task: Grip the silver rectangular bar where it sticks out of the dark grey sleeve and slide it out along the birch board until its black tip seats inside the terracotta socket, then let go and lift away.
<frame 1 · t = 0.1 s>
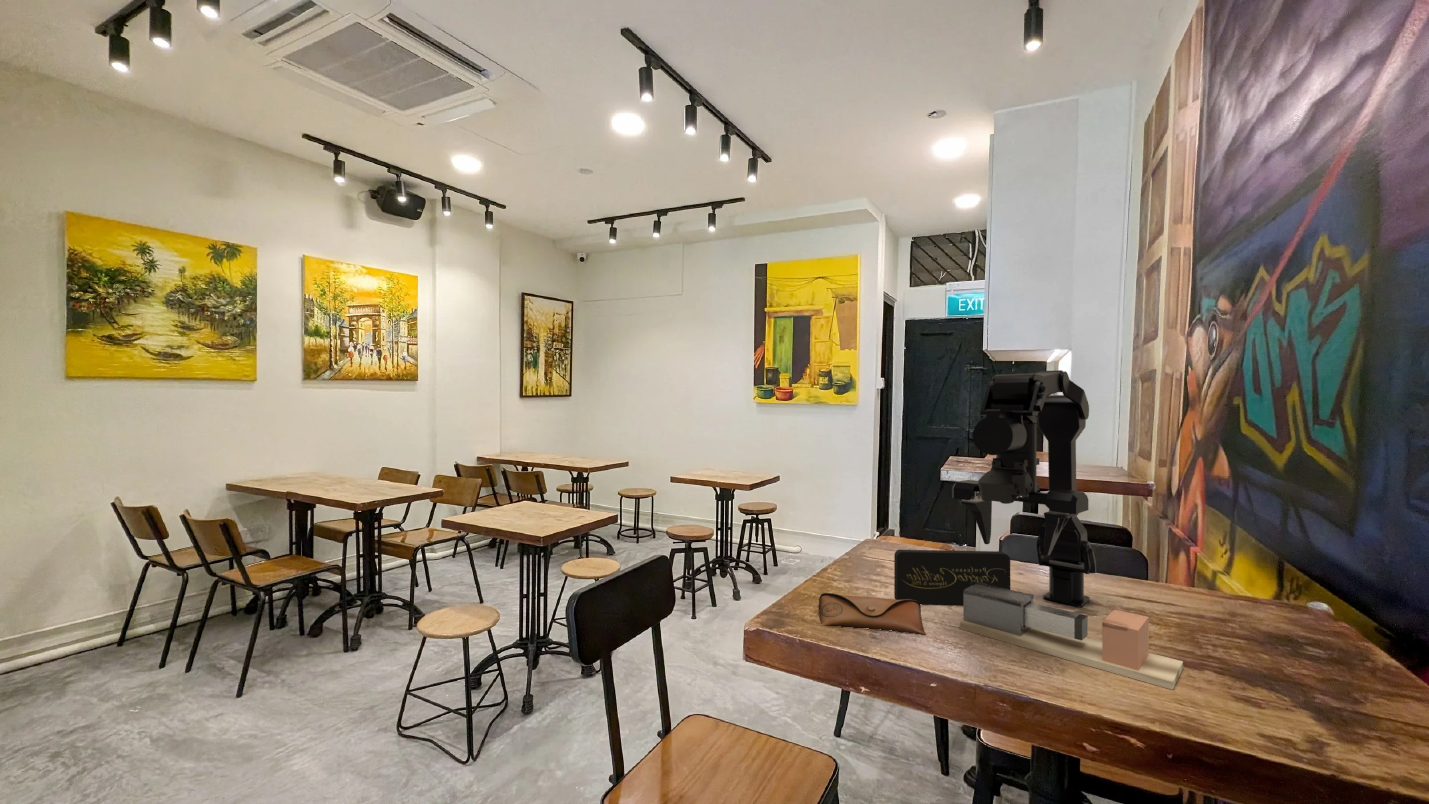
hand: (1016, 549, 90), 15 cm above the table, tool pointing down, fingers open, 9 cm apart
sunglasses case: (870, 625, 98), on the table
base board: (1062, 647, 88), on the table
grey sleeve: (998, 607, 94), on the base board, point 4 cm above the table
silver rectangular bar: (1023, 613, 92), point 4 cm above the table, slide at 0.0 cm
terracotta socket: (1125, 638, 82), on the base board, point 4 cm above the table
nameplate: (951, 605, 107), on the table
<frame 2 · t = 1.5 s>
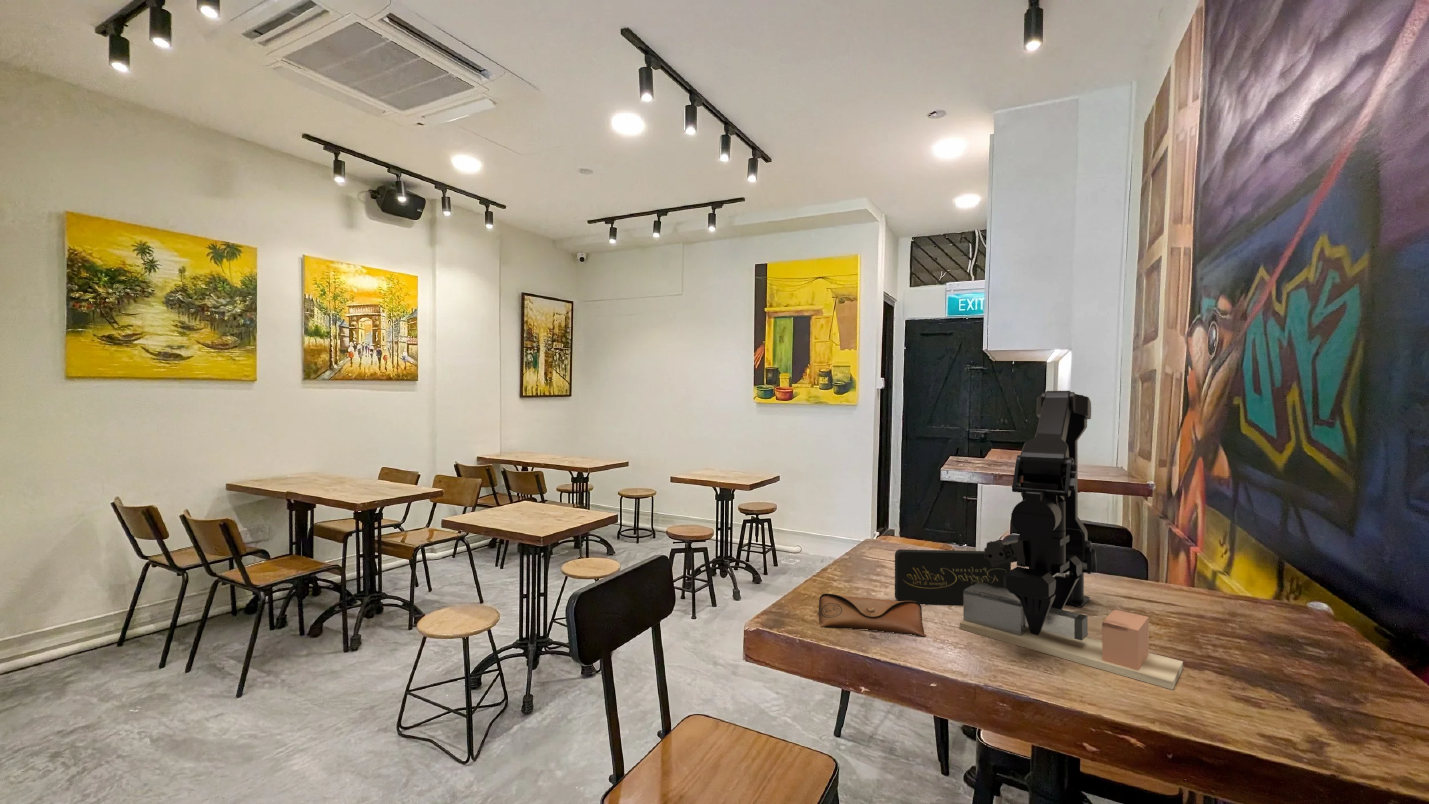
hand: (1044, 626, 89), 2 cm above the table, tool pointing down, fingers open, 9 cm apart
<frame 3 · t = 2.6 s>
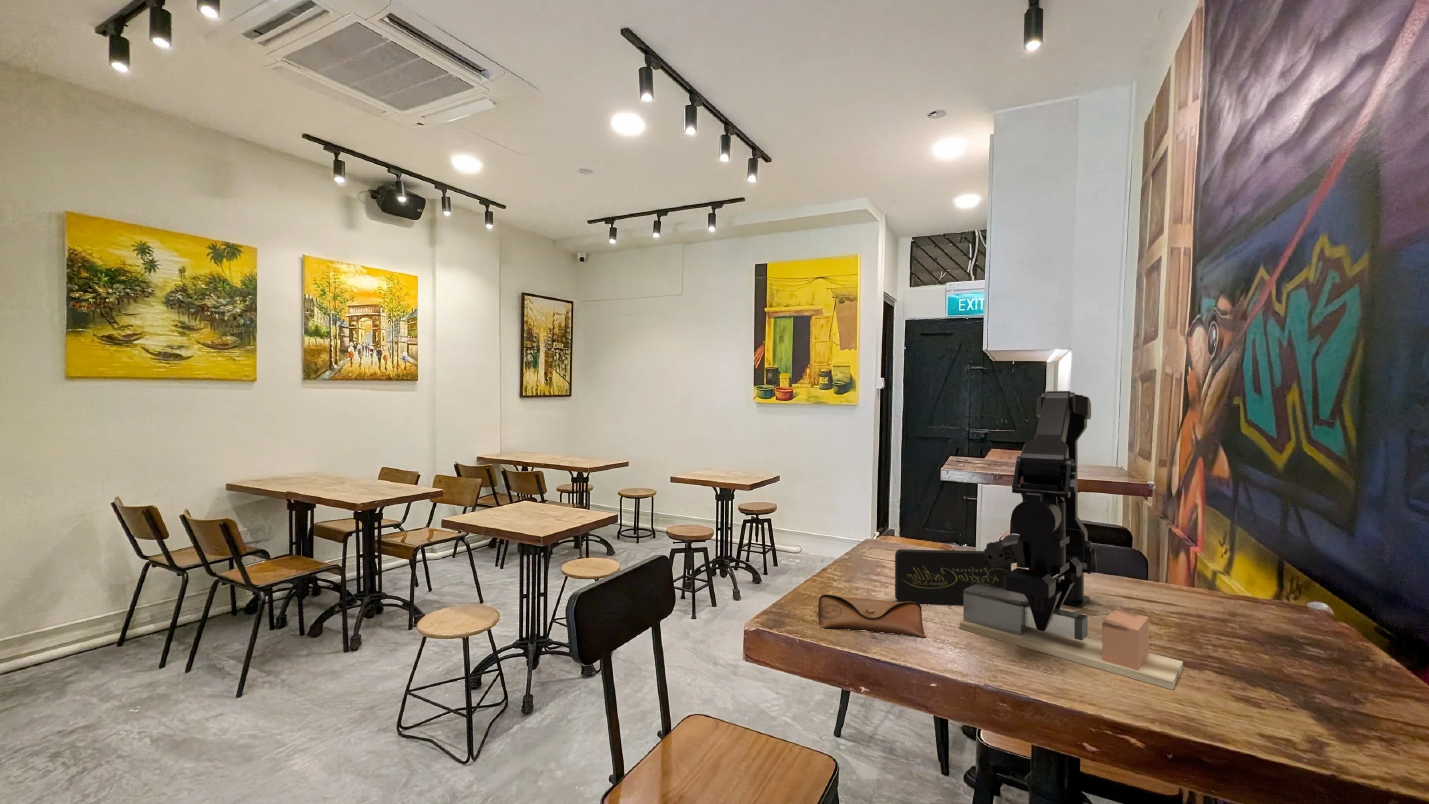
hand: (1044, 627, 89), 2 cm above the table, tool pointing down, fingers closed on silver rectangular bar, 3 cm apart
silver rectangular bar: (1023, 613, 92), point 4 cm above the table, slide at 0.0 cm, touching gripper
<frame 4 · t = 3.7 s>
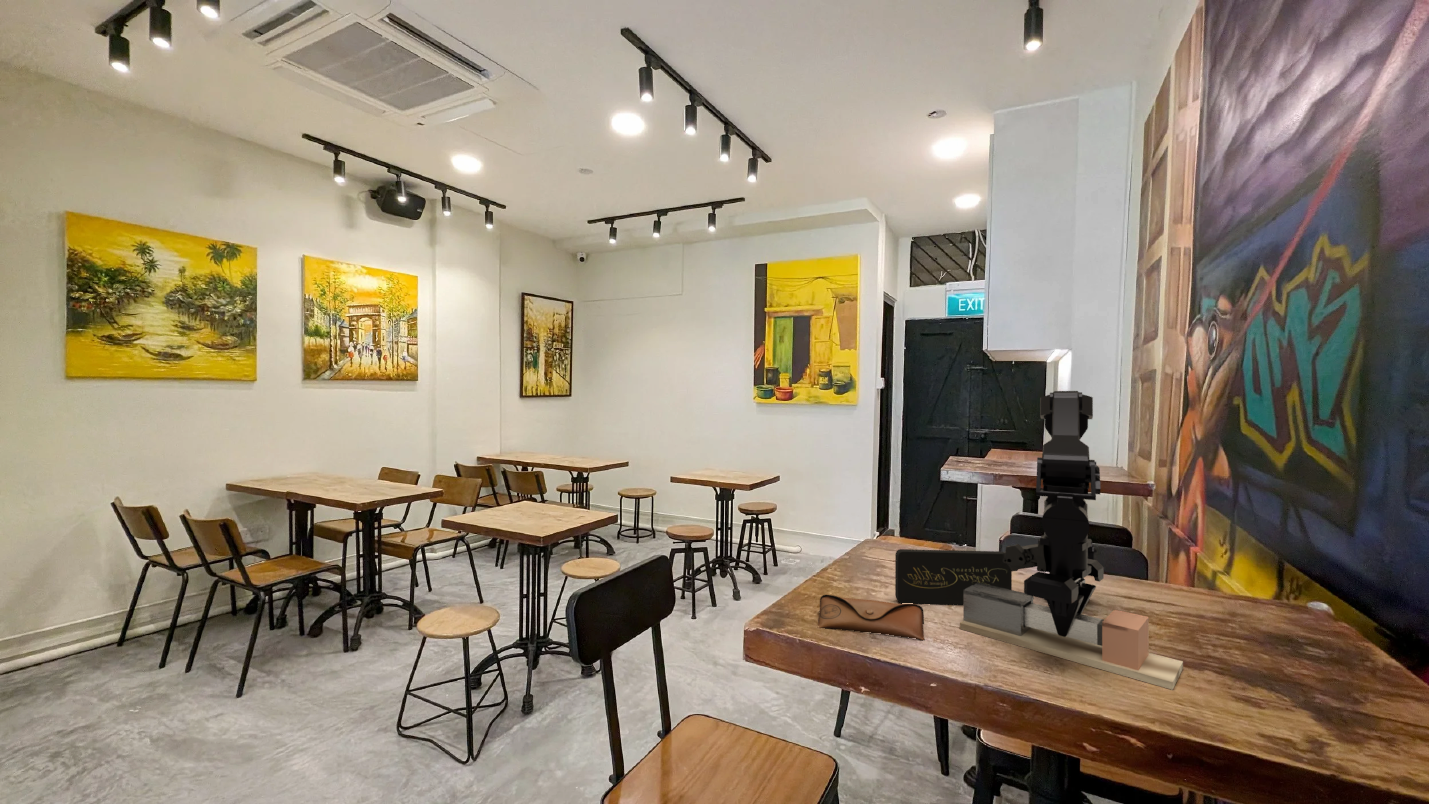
hand: (1065, 632, 87), 2 cm above the table, tool pointing down, fingers closed on silver rectangular bar, 3 cm apart
silver rectangular bar: (1043, 618, 89), point 4 cm above the table, slide at 2.9 cm, touching gripper
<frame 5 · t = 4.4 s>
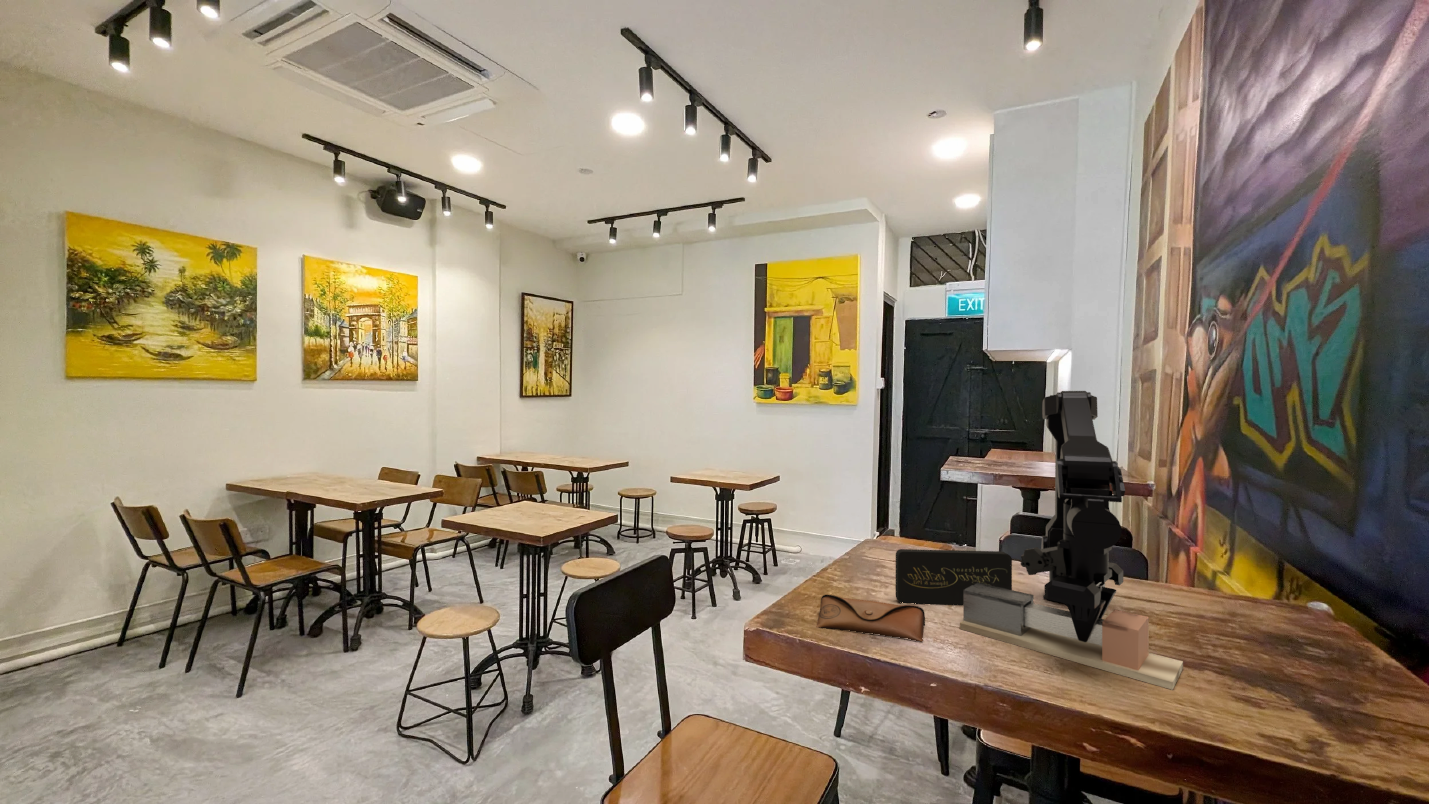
hand: (1085, 638, 85), 2 cm above the table, tool pointing down, fingers closed on silver rectangular bar, 3 cm apart
silver rectangular bar: (1063, 622, 88), point 4 cm above the table, slide at 5.6 cm, touching gripper
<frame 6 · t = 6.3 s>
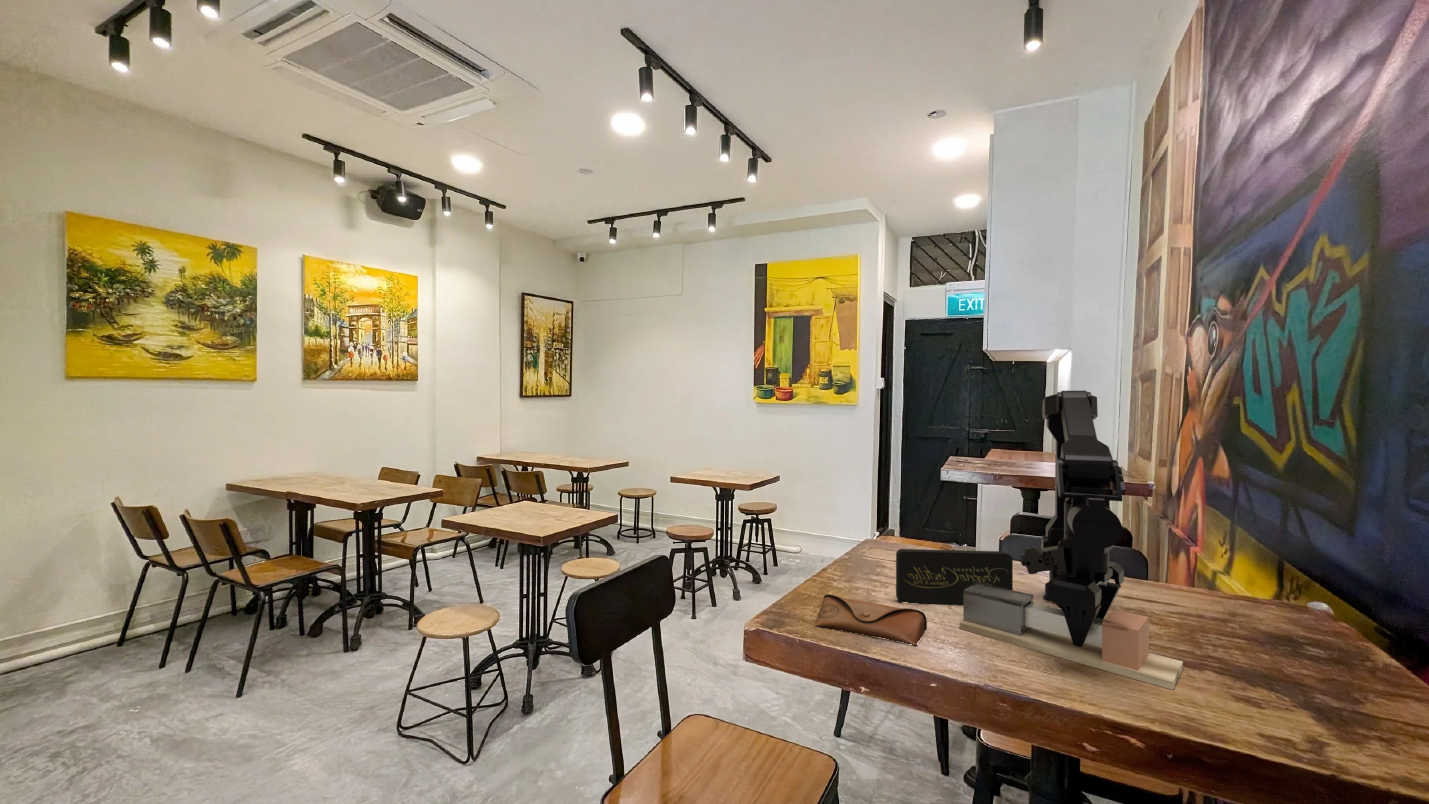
hand: (1086, 637, 85), 2 cm above the table, tool pointing down, fingers open, 9 cm apart
silver rectangular bar: (1063, 622, 87), point 4 cm above the table, slide at 5.7 cm
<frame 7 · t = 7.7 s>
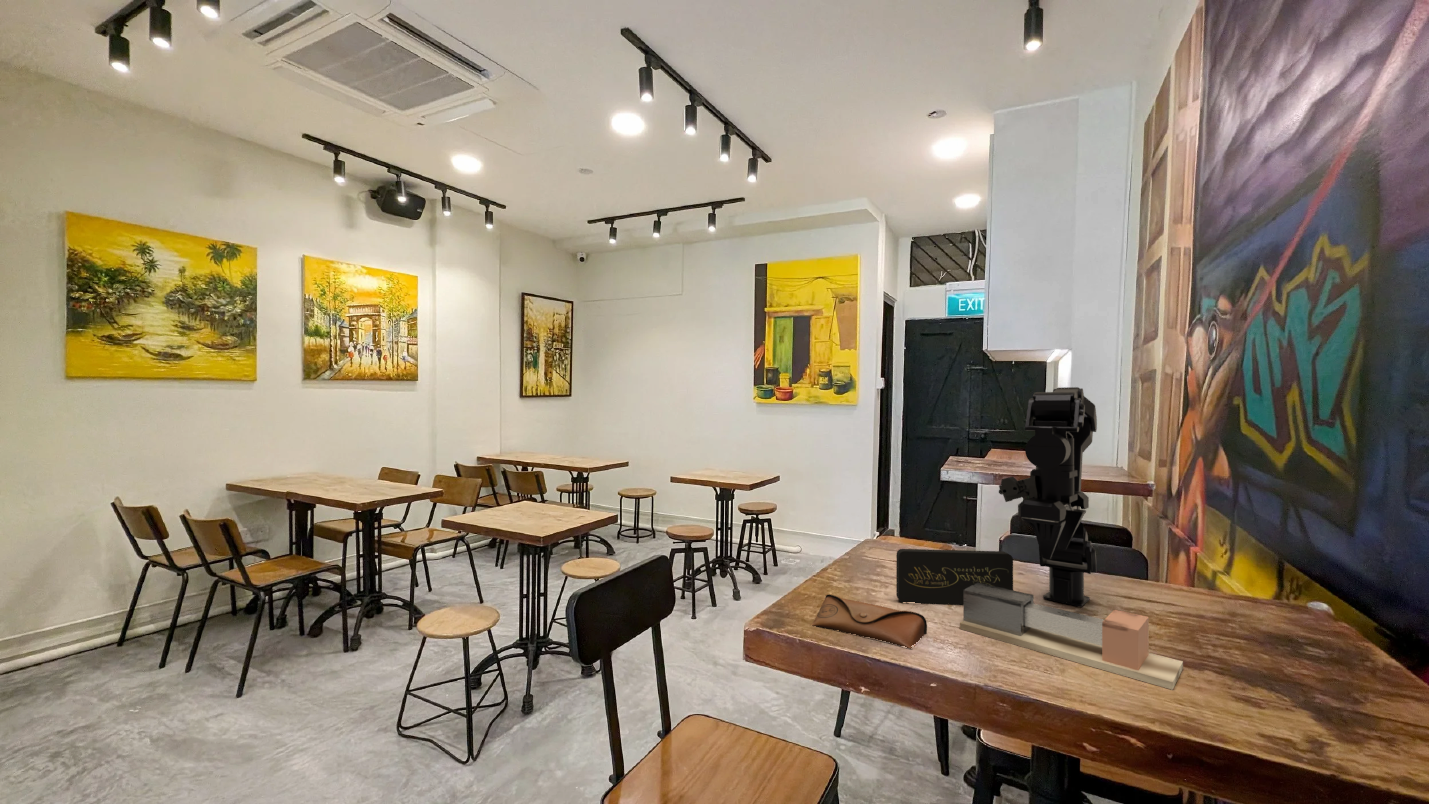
hand: (1054, 553, 98), 12 cm above the table, tool pointing down, fingers open, 9 cm apart
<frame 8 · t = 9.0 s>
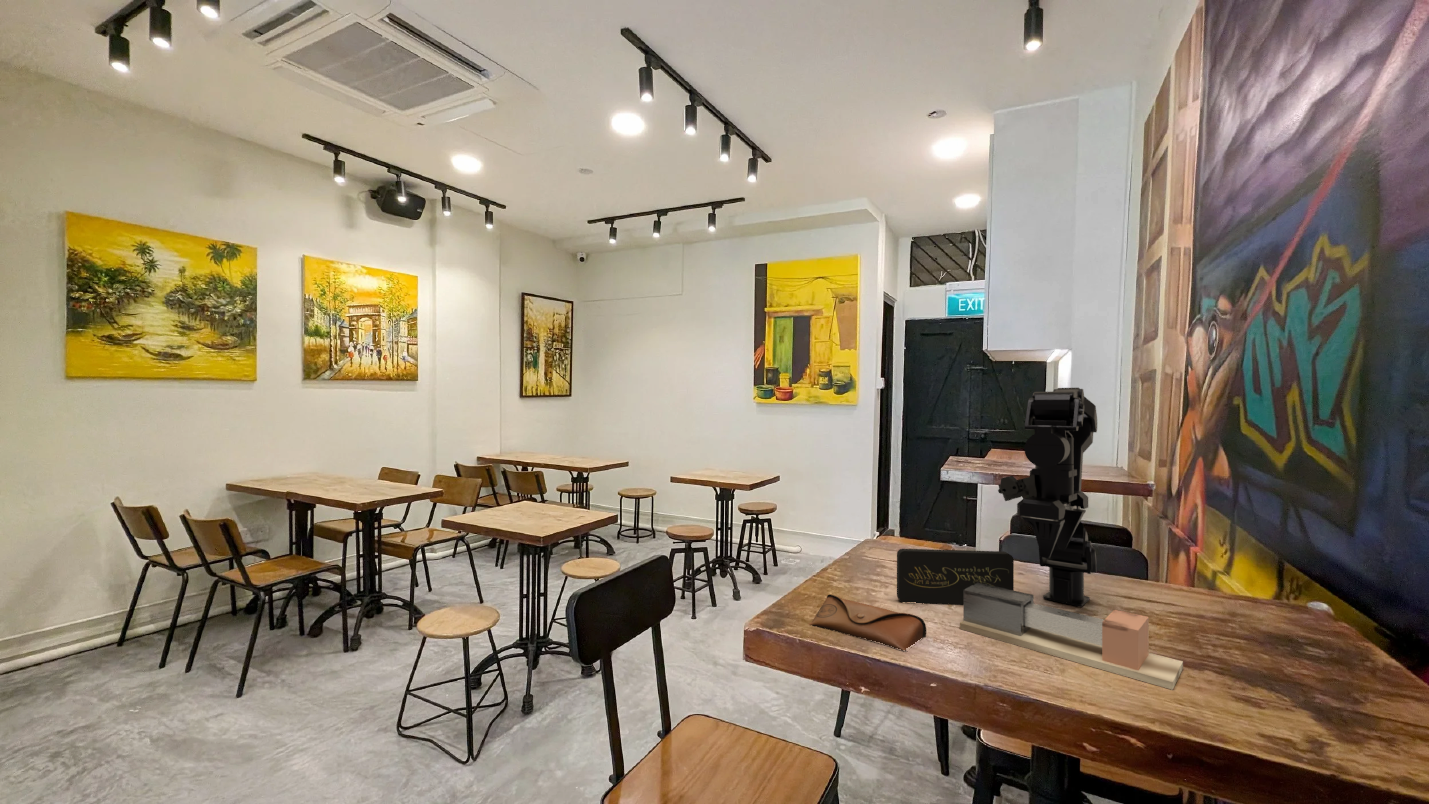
hand: (1054, 553, 98), 12 cm above the table, tool pointing down, fingers open, 9 cm apart
at the end: silver rectangular bar slide at 5.7 cm; the gripper is holding nothing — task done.
